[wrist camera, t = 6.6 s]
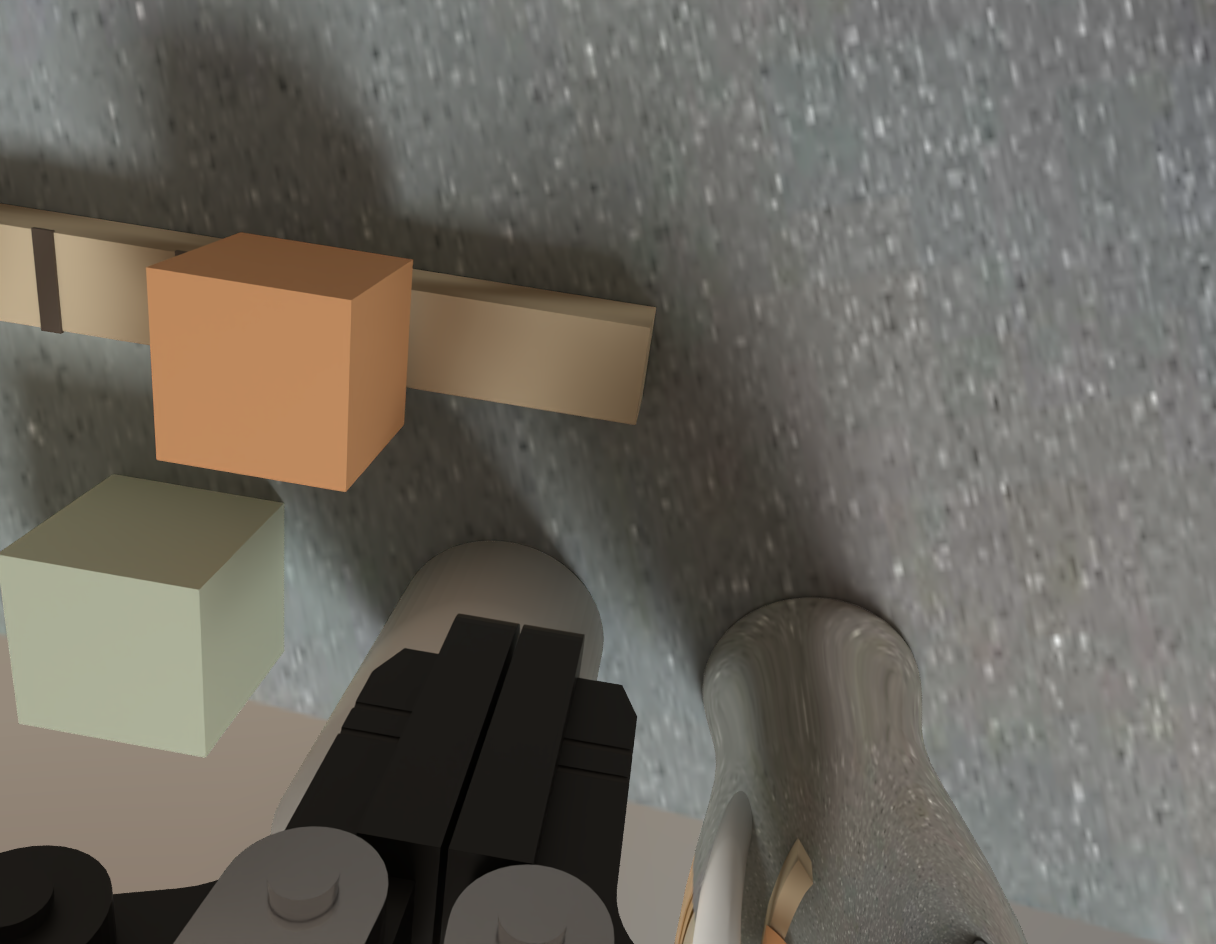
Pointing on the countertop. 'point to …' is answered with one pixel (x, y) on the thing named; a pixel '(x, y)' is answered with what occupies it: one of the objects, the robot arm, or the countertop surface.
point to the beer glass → (829, 795)
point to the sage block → (145, 613)
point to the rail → (438, 332)
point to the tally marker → (278, 358)
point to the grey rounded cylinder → (471, 585)
